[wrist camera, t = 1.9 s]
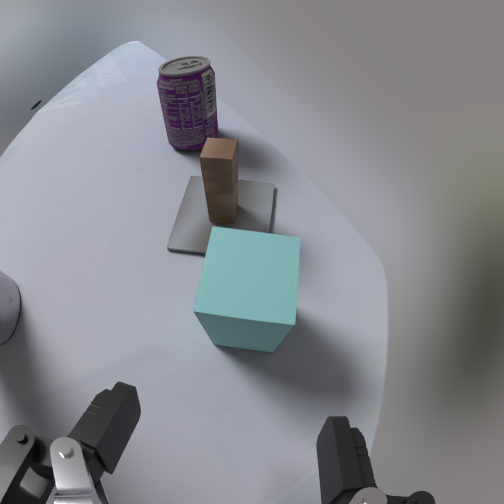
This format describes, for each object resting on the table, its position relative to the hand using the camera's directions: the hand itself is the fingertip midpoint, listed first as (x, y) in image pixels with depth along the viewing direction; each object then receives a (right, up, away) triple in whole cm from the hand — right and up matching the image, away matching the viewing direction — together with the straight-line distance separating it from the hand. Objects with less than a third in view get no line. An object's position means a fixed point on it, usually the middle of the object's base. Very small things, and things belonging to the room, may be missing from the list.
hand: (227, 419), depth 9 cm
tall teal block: (+1, +1, +15) cm, 15 cm away
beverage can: (-7, +23, +27) cm, 36 cm away
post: (-2, +11, +20) cm, 23 cm away
